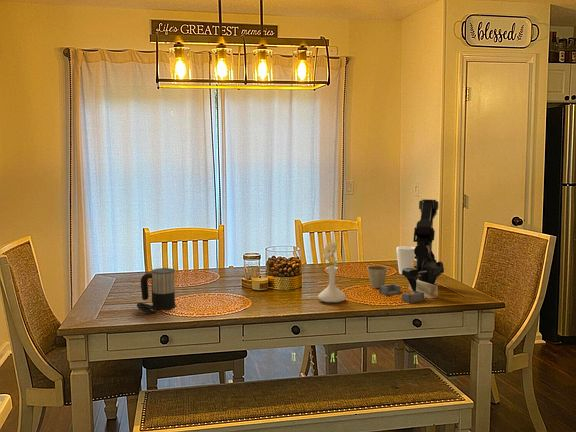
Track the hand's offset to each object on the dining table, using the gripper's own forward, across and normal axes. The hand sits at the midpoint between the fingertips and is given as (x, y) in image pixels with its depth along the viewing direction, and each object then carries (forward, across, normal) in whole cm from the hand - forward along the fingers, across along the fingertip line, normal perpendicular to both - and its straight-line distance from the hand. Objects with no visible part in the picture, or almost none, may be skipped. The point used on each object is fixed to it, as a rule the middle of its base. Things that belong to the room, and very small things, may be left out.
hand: (422, 290), depth 240 cm
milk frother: (+2, -105, +34) cm, 110 cm away
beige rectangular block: (+2, 0, 0) cm, 2 cm away
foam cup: (+2, +22, +37) cm, 43 cm away
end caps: (+2, -11, +1) cm, 11 cm away
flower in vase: (+2, -40, +9) cm, 41 cm away
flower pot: (+2, -8, +21) cm, 23 cm away
